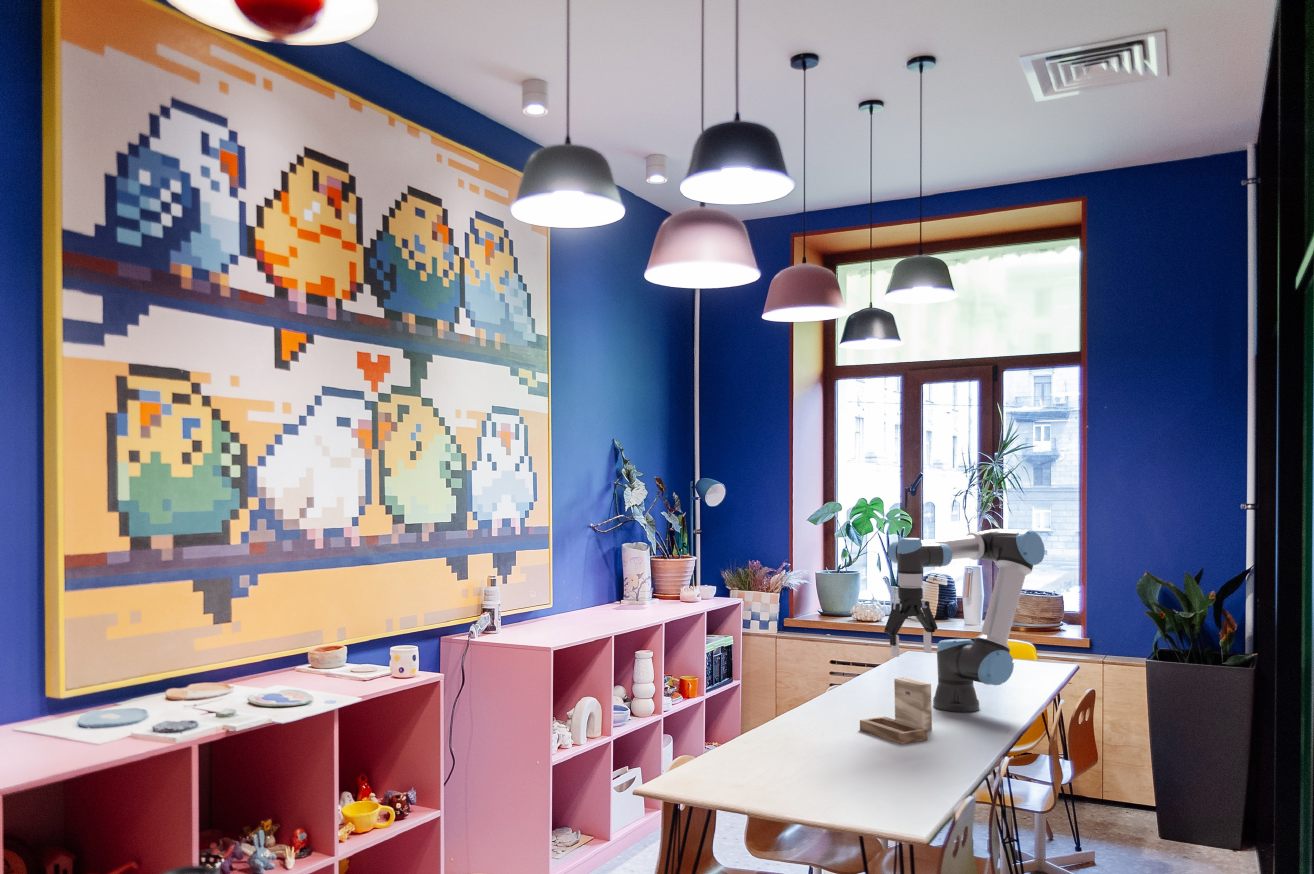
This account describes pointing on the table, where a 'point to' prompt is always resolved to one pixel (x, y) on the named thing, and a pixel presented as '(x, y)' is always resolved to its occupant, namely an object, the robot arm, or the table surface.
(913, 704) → the panel
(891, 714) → the table surface
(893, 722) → the track
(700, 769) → the table surface
